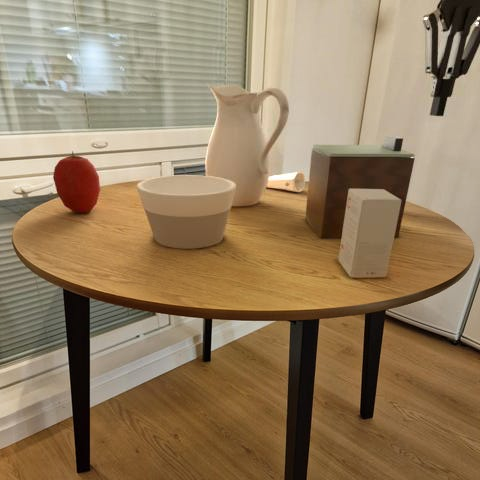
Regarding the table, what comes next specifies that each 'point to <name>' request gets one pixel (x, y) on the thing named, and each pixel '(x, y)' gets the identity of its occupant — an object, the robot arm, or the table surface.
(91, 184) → the apple
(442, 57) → the robot arm
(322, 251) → the table surface
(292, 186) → the long cone
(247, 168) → the pitcher
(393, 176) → the case
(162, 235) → the bowl
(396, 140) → the sliding box lid
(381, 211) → the small box
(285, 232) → the table surface
